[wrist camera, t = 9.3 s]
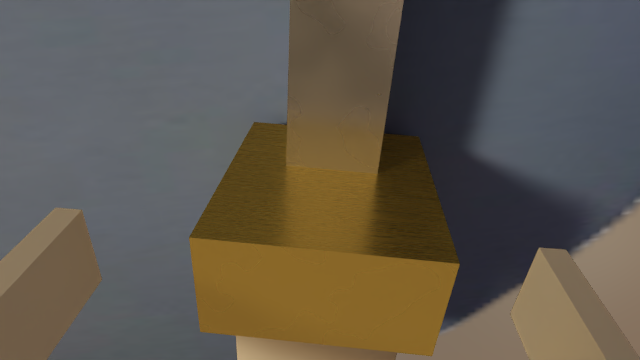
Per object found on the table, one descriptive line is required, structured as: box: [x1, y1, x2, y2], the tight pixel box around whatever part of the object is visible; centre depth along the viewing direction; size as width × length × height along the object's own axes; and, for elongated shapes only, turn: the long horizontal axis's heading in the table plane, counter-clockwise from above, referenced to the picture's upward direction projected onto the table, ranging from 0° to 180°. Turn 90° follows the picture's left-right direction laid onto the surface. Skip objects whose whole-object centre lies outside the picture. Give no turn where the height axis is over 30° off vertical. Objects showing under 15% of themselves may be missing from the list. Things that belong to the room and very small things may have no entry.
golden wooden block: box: [189, 0, 460, 356], centre depth 13 cm, size 20×7×8 cm, turn 176°
